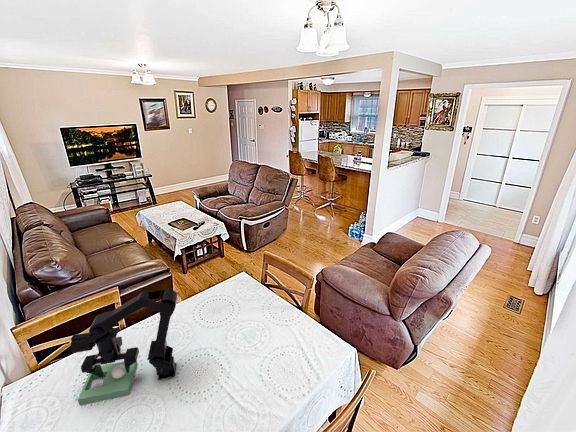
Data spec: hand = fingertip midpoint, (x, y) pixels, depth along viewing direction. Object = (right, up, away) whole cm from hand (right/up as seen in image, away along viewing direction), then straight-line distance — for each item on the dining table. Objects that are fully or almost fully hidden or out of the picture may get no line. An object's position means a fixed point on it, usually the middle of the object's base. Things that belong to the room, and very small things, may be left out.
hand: (115, 374), depth 113 cm
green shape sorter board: (-3, -4, +1) cm, 5 cm away
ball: (+1, +1, 0) cm, 2 cm away
